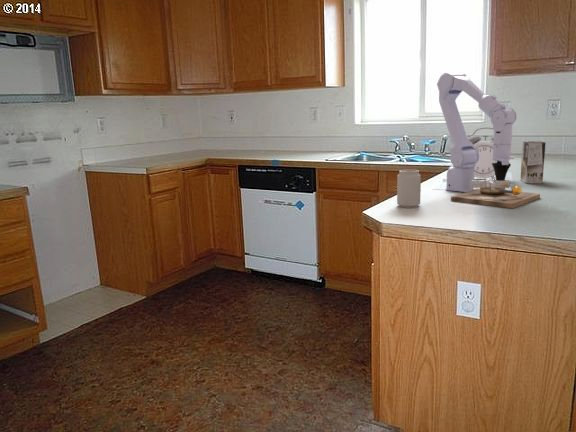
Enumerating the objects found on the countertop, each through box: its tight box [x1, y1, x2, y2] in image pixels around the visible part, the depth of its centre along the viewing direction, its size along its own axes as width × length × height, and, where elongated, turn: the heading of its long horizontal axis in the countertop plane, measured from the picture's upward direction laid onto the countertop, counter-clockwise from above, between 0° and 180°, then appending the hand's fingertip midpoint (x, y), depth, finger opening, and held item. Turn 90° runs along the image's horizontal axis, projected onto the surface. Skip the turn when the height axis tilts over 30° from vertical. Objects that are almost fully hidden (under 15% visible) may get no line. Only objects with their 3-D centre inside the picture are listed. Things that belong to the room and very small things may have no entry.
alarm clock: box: [467, 127, 497, 180], centre depth 203 cm, size 16×9×22 cm, turn 61°
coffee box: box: [520, 140, 547, 184], centre depth 195 cm, size 9×6×16 cm
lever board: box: [450, 188, 541, 209], centre depth 166 cm, size 21×21×2 cm
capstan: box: [471, 177, 522, 195], centre depth 167 cm, size 15×15×4 cm
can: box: [396, 169, 422, 209], centre depth 160 cm, size 8×8×12 cm
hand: (500, 183), depth 171 cm, fingers closed
